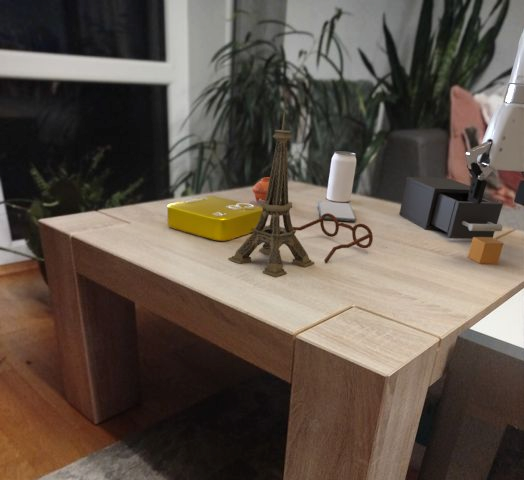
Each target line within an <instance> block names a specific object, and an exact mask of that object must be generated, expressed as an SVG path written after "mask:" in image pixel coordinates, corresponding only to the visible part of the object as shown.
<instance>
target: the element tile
mask: <svg viewBox="0 0 524 480" xmlns="http://www.w3.org/2000/svg"><path fill="white" fill-rule="evenodd" d="M166 207H167V210H166V211H167V227H168V228H170V229H173V230H176V231H180V232H183V233H188V234H190V235H193V236H194V235H195V236H196V237H197V236H198V237H202V238H205V239H207V240H212V241H216V242H227V241H230V240H233V239H236V238H240V237H243V236H246V235H249V234H253V232H254V231H253V229H252V228H255V227H256V225H257V224H258V222H259V219H260V216H261V213H262V211H263V208H262V207H261V206H260V205H255V204H251V203H246V202H242V201H237V200H234V199H230V198H225V197H220V196H217V195H207V196H206V195H205V196H202V197H197V198H192V199H188V200H182V201H177V202H173V203H169V204H167V206H166Z"/></svg>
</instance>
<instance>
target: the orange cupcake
mask: <svg viewBox="0 0 524 480" xmlns="http://www.w3.org/2000/svg"><path fill="white" fill-rule="evenodd" d="M269 180H270V176H266V177H262V178H261V179H260V180H259V181H257V182H256V183H255V184H254V186H253V187H252V193H253V194H254V198H255V201H256V202H257V203H259V202H260V200H262V201H264V202H265V200H266V195H267V190H268V185H269ZM273 198H274V197H273Z"/></svg>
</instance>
